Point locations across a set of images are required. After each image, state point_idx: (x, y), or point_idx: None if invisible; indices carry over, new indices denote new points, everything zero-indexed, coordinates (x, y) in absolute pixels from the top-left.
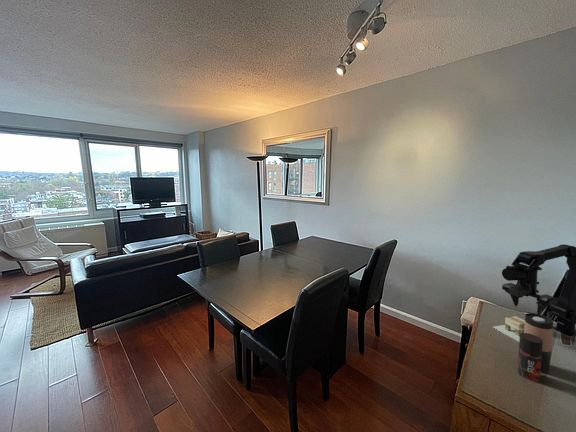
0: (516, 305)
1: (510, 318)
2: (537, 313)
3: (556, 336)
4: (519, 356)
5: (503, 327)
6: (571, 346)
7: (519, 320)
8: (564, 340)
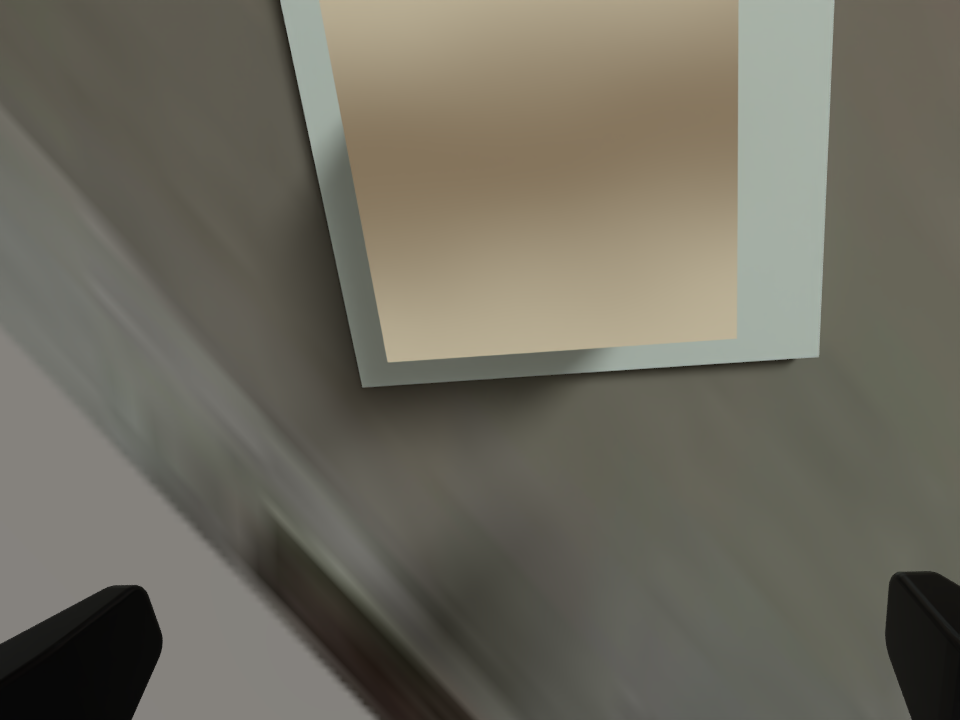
0: (897, 623)
1: (655, 58)
2: (90, 616)
3: (417, 614)
4: None
5: (747, 18)
6: (214, 550)
7: (507, 214)
8: (332, 607)
